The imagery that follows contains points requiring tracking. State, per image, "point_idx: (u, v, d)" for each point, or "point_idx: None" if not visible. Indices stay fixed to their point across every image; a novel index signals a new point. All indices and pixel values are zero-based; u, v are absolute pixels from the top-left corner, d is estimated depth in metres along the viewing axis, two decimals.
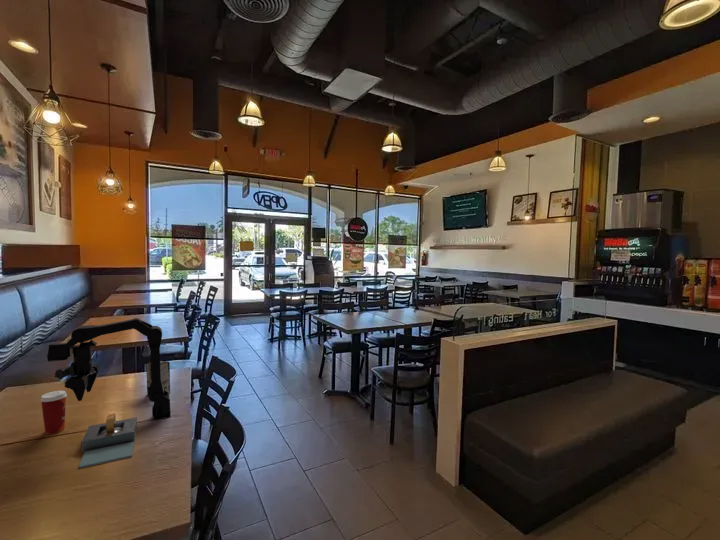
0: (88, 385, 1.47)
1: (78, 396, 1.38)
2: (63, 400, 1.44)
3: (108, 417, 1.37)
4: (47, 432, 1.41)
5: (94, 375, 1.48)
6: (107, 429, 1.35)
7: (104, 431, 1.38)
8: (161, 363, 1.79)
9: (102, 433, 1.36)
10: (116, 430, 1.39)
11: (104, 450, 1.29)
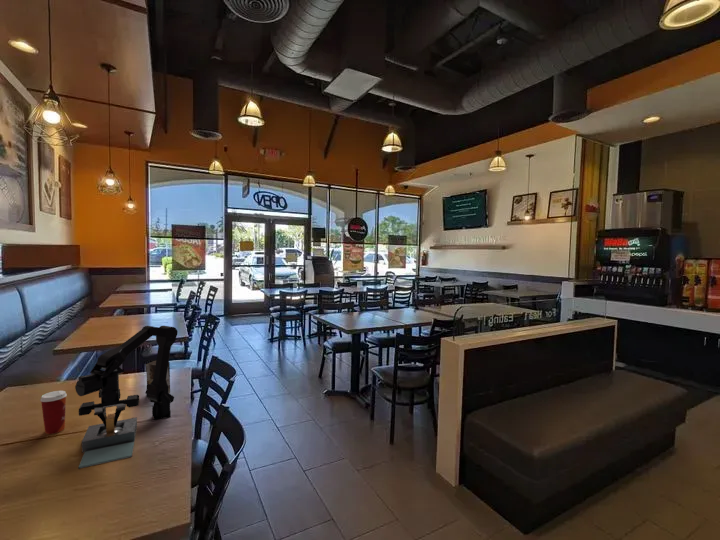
0: (115, 418, 1.38)
1: None
2: (63, 400, 1.44)
3: (108, 417, 1.37)
4: (47, 432, 1.41)
5: (115, 411, 1.37)
6: (107, 429, 1.35)
7: (104, 431, 1.38)
8: None
9: (102, 433, 1.36)
10: (116, 430, 1.39)
11: (104, 450, 1.29)
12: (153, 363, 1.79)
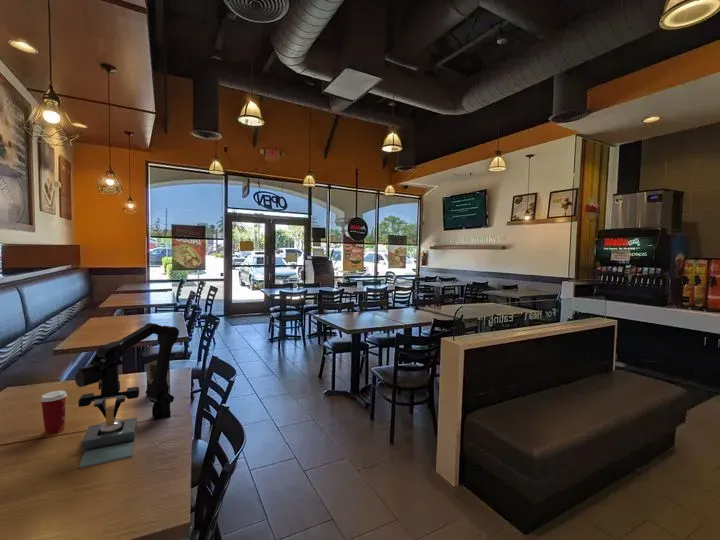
0: (114, 410, 1.38)
1: None
2: (63, 400, 1.44)
3: (107, 408, 1.37)
4: (47, 432, 1.41)
5: (115, 402, 1.37)
6: (107, 420, 1.35)
7: (104, 423, 1.38)
8: None
9: (102, 424, 1.36)
10: (116, 422, 1.39)
11: (104, 450, 1.29)
12: (153, 363, 1.79)
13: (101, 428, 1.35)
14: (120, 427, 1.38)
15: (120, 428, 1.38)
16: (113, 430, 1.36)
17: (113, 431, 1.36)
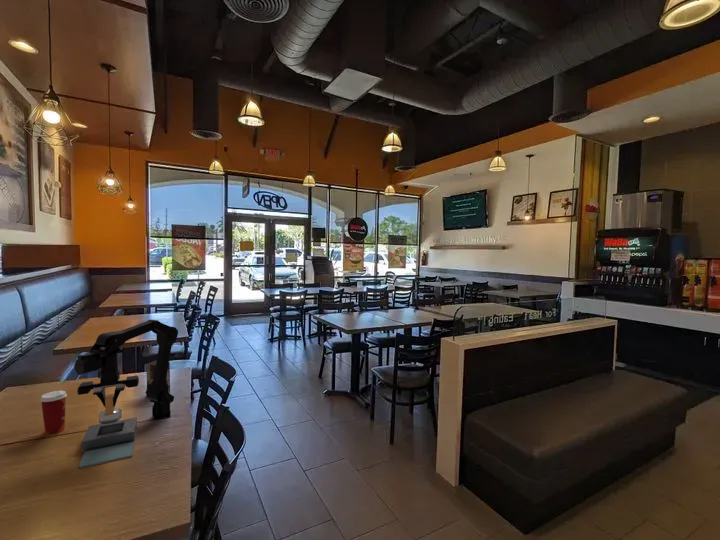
0: (114, 399, 1.37)
1: None
2: (63, 400, 1.44)
3: (107, 397, 1.36)
4: (47, 432, 1.41)
5: None
6: (106, 409, 1.34)
7: (103, 411, 1.37)
8: None
9: (101, 413, 1.35)
10: (115, 410, 1.38)
11: (104, 450, 1.29)
12: (153, 363, 1.79)
13: (101, 416, 1.34)
14: (119, 416, 1.37)
15: (119, 417, 1.37)
16: (112, 419, 1.35)
17: (112, 420, 1.35)
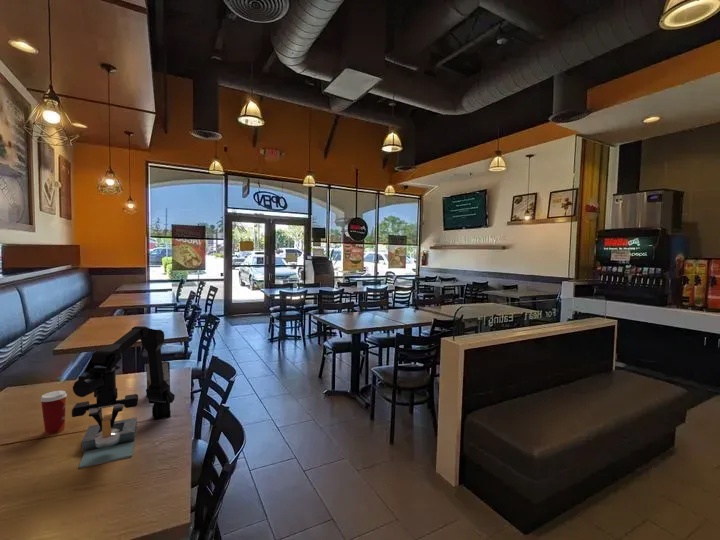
0: None
1: None
2: (63, 400, 1.44)
3: (104, 418, 1.26)
4: (47, 432, 1.41)
5: (112, 411, 1.26)
6: (103, 431, 1.24)
7: (100, 433, 1.27)
8: None
9: (98, 436, 1.26)
10: (113, 432, 1.28)
11: (104, 450, 1.29)
12: None
13: (97, 439, 1.24)
14: (117, 438, 1.27)
15: (117, 439, 1.27)
16: (109, 442, 1.25)
17: (110, 443, 1.25)
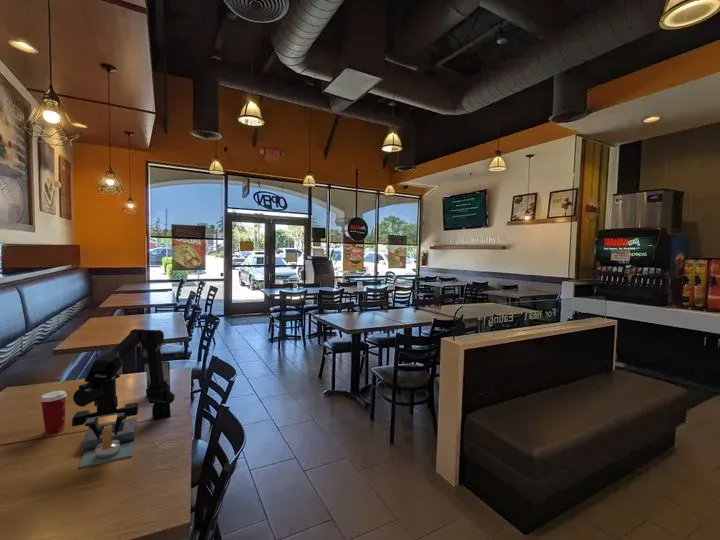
0: None
1: None
2: (63, 400, 1.44)
3: (104, 429, 1.26)
4: (47, 432, 1.41)
5: (116, 420, 1.26)
6: (103, 443, 1.25)
7: (100, 445, 1.27)
8: None
9: (98, 447, 1.26)
10: (113, 444, 1.28)
11: None
12: None
13: (97, 451, 1.24)
14: (118, 450, 1.27)
15: (118, 451, 1.27)
16: (110, 454, 1.25)
17: (110, 454, 1.25)
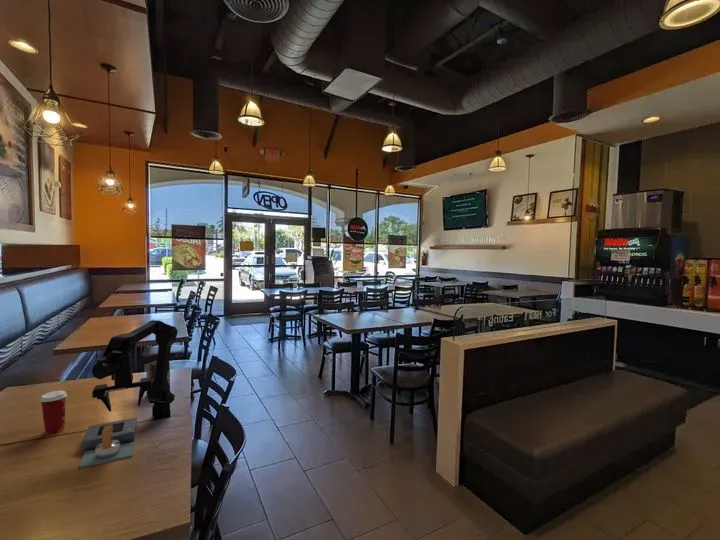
0: (138, 399, 1.39)
1: None
2: (63, 400, 1.44)
3: (104, 429, 1.26)
4: (47, 432, 1.41)
5: (139, 391, 1.37)
6: (103, 443, 1.24)
7: (100, 445, 1.27)
8: None
9: (98, 447, 1.26)
10: (113, 444, 1.28)
11: None
12: (153, 363, 1.79)
13: (97, 451, 1.24)
14: (118, 450, 1.27)
15: (118, 451, 1.27)
16: (110, 454, 1.25)
17: (110, 454, 1.25)
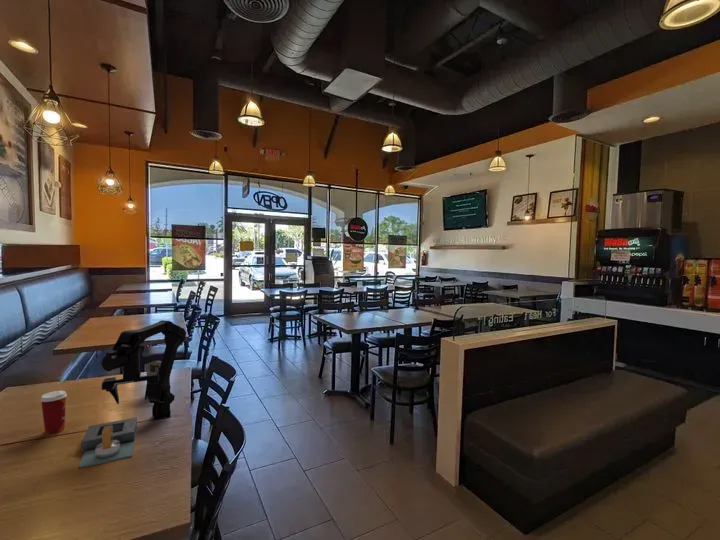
0: (145, 392, 1.44)
1: None
2: (63, 400, 1.44)
3: (104, 429, 1.26)
4: (47, 432, 1.41)
5: (146, 385, 1.42)
6: (103, 443, 1.24)
7: (100, 445, 1.27)
8: None
9: (98, 447, 1.26)
10: (113, 444, 1.28)
11: None
12: (153, 363, 1.79)
13: (97, 451, 1.24)
14: (118, 450, 1.27)
15: (118, 451, 1.27)
16: (110, 454, 1.25)
17: (110, 454, 1.25)
